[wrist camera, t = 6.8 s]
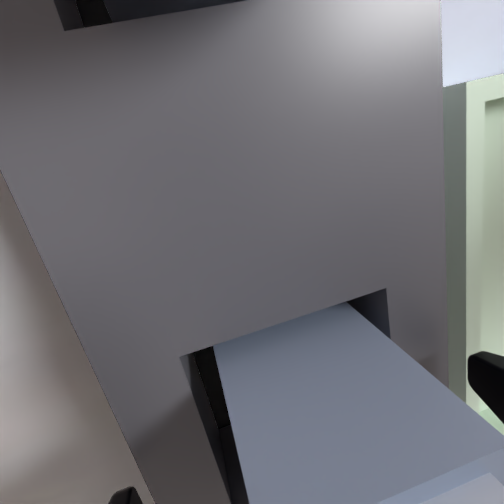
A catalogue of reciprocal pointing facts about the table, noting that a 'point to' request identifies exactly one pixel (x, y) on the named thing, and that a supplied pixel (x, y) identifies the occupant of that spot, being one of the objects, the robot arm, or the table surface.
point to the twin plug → (155, 7)
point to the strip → (226, 193)
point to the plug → (351, 419)
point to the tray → (474, 228)
